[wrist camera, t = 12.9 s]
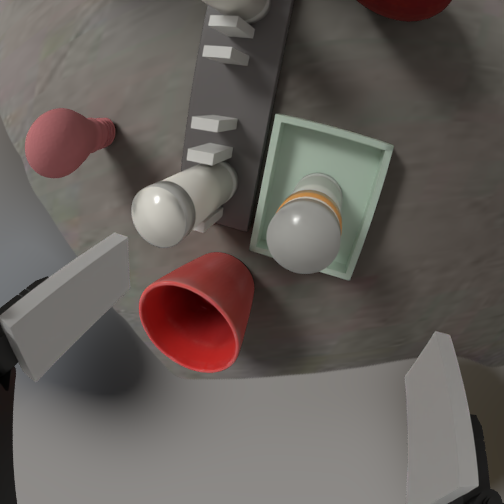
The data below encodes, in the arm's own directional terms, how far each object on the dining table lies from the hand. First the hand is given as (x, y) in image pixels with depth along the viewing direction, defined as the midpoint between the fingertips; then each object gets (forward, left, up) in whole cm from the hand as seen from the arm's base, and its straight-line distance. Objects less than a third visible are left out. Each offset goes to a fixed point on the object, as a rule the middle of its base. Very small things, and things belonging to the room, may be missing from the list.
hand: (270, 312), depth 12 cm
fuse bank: (-8, -10, -19) cm, 23 cm away
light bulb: (-2, -25, -20) cm, 32 cm away
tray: (0, 0, -19) cm, 19 cm away
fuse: (+1, -10, -18) cm, 21 cm away
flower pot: (+13, -8, -20) cm, 25 cm away
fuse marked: (0, 0, -19) cm, 19 cm away
